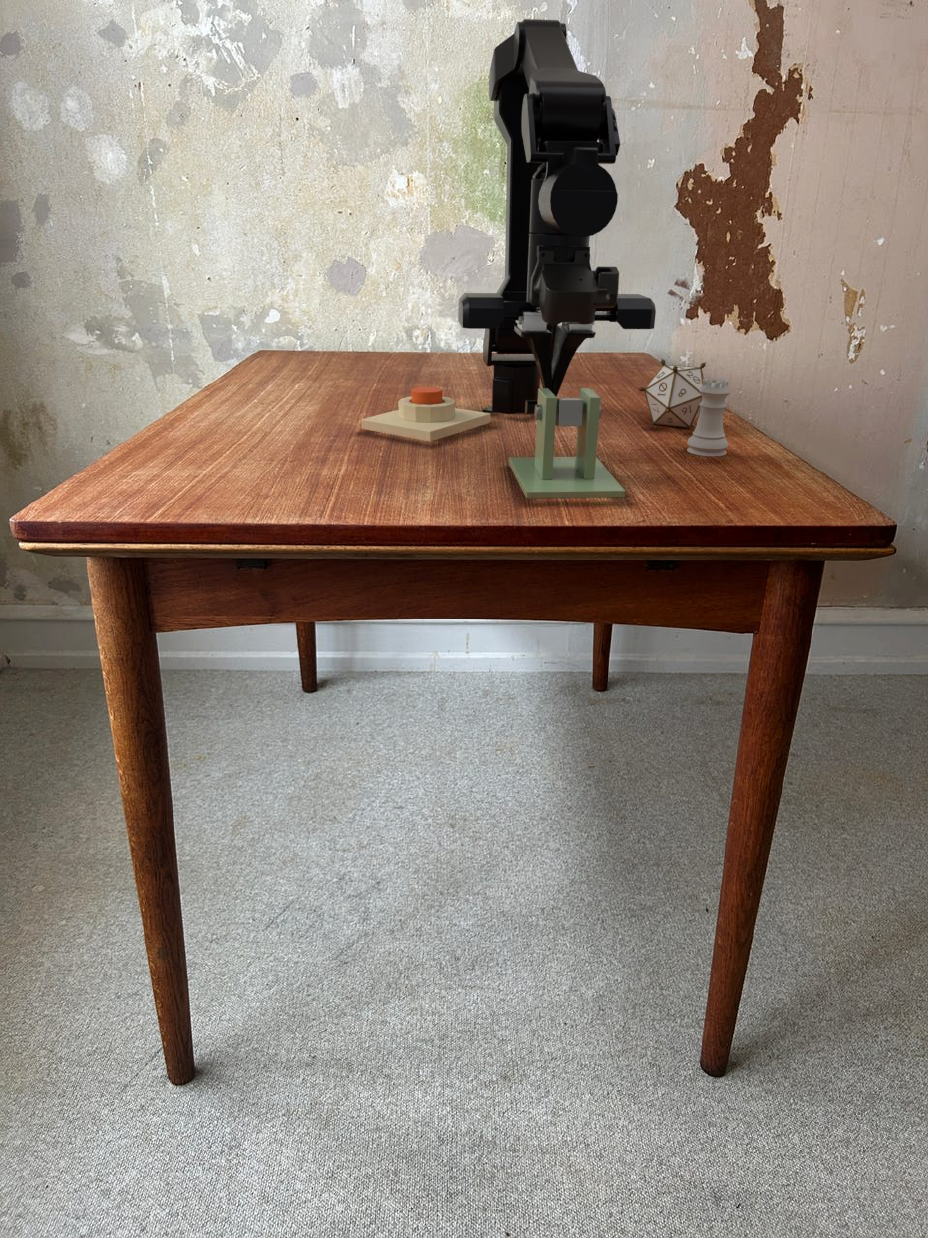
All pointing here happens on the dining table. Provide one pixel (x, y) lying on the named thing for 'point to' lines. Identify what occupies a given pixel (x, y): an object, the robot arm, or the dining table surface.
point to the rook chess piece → (710, 420)
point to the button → (426, 395)
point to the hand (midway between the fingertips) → (550, 399)
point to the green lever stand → (565, 473)
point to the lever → (562, 411)
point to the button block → (426, 420)
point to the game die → (675, 395)
